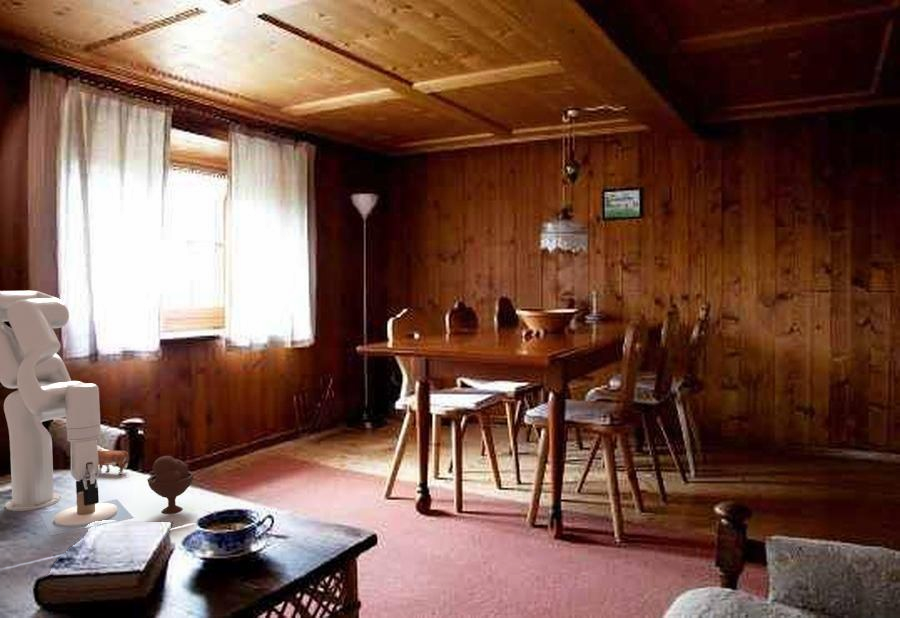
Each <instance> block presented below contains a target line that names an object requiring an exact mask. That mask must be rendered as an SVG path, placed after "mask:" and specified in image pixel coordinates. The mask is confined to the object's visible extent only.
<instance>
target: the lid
mask: <svg viewBox="0 0 900 618" xmlns="http://www.w3.org/2000/svg"><path fill="white" fill-rule="evenodd" d="M62 510H63V511H61V510H60V511H61V512H59V513H57V514H56V515H55V516H54V522H55V524H57V525H60V526H83V525H88V524H90V523H92V522H95V521H102V520H107V519H109V518H111V517H113V516H114V515H115V514H116V513H117V506H116V505H114V504H111V503H101V502H98V503H97V504H92V505H87V506H85V505H84V496H83V491H82V492H79V493H77V495H76V505H75V506H72V507H68V508H66V509H62Z"/></svg>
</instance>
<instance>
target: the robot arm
mask: <svg viewBox="0 0 900 618" xmlns="http://www.w3.org/2000/svg"><path fill="white" fill-rule="evenodd" d="M69 316H70V312H69V309H68V307H67V306H66V303H64V302H63V301H62V300H61V299H59V298H58V297H55V296H52V295H49V294H47V293H44V292H41V291H38V290H0V383H1V385H2V386H3V387H4V388H7V389H17V390H15V391H13V392H11V393H10V394H8V395H7V396H6V398H5V400H4V403H3V411H4V414H5V419H6V423H7V428H8V435H9V451H10V453H9V454H10V473H11V474H10V475H11V476H10V477H11V499H10V500H8V501H7V502H6V503H5V504H4V505H5V507H6V508H5V509H6V510H7V511H13V512H14V511H15V512H26V511H33V510H38V509H42V508H43V509H44V508H47V507H50V506H53V505H55V504H57V503H59V502H60V501H61V499H62V498H61V495H60V494H59V493H57V492H55V491H54V487H55V486H54V467H53V466H54V463H53V460H54V459H53V440H52V435H51V433H50V432H49V430H48V429H47V428H46V427H45V426H44V425H43V422H47V421H51V420H56V419H61V418H65V424H66V441H67V442H70V474H71V475H70V476H72V478H73V479H75V490H76V491H75V492H76V493H75V494H76V496H77V493H79V492H82V491H83V496H84V505H85V506H87V505H92V504H97V503H100V502H99V501H100V500H99V487H98V486H99V485H98V481H97V478H98V477H99V475H100V473H99V461H98V449H97V446H98V440H97V439H100V438H101V437H102V428H101V427H102V426H101V425H102V424H101V411H100V409H101V407H100V389H99V386H98V385H97V384H95V383H90V382H89V383H87V382H86V383H85V382H82V381H79V380H72V379H71V377H70V373H69V371H68V369H67V366H66V365H65V363H64V361H63V359H62V358H61V356H60V355H59V354H58V353H59V351H60V350H61V343H60V341H59V338H58V337H57V334H56V333H55V330H54V329H59V328H63V327H64V326H66V325H67V324H68V321H69V318H70V317H69ZM6 322H8V323H9V325H10V326H8V325H7V324H6Z"/></svg>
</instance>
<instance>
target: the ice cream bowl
mask: <svg viewBox="0 0 900 618" xmlns="http://www.w3.org/2000/svg"><path fill="white" fill-rule="evenodd" d="M152 471H153V473H154V474H152V475H151V476H150V477H148V478H147V483H148V486H149V488H150V490H152V492H154V493H155V494H156V495H158V496H160V497H162V498H167V503H168V504H167V506H166V507H165V508H164V509H162V510H161V511H160V513H162V515H173V514H178V513H180V512H182V511H183V510H184V508H183V507H181V506H179V505H176V498H177V497H179V496H181V495H182V494H183V493H185V492H186V490H187V489H188V488H189V487H190V486H191V485H192V483H193V480H194V477H195V473H194V472H192V471H190V470H189V466H188V464H186V463H185V462H184V461H182V460H180V459H177V458H174V456H171V455H164V456H160V457H158V458H157V459H155V461H154V463H153V465H152Z"/></svg>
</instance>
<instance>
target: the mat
mask: <svg viewBox="0 0 900 618" xmlns="http://www.w3.org/2000/svg"><path fill="white" fill-rule="evenodd" d="M100 503H111V504H114V505H116V506H117V513H116V514H115V515H114V516H113V517H111V518H109V519H107V520H116V521H117V522H120V521H124V520H125V521H126V520H129V519H130V520H131V519H134V516H133V515H132V514H131V513H130V512H129V511H128V510H127V508H126V507H124V505H123V504H122V503H121V502H120V501H119V500H118V499H117V498H115V499H112V500H111V499H110V500H107V501H103V502H100ZM63 510H64V509H62V510H57V511H56V510H55V511H52V512H46V513H41V514H40V515H39V516H40V518H41V520H42V522H43V524H44V525H45V528H46V529H47V531H48V533H49V536H50V537H53V536H58V535H62V534H65V533H70V532H75V531H80V530H85V529H86V528H85V527H86V526H87V525H83V526H60V525H57V524H55V522H54V516H55V515H56V514H57V513H59V512H61V511H63Z"/></svg>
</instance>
